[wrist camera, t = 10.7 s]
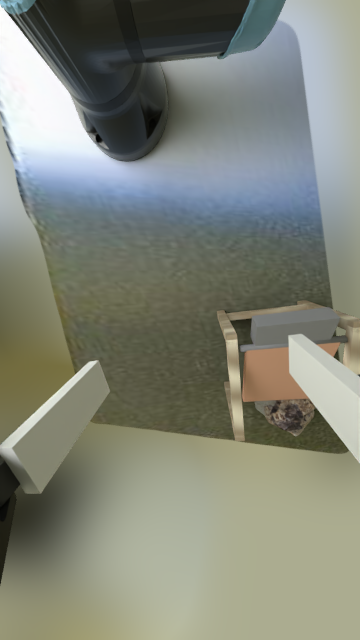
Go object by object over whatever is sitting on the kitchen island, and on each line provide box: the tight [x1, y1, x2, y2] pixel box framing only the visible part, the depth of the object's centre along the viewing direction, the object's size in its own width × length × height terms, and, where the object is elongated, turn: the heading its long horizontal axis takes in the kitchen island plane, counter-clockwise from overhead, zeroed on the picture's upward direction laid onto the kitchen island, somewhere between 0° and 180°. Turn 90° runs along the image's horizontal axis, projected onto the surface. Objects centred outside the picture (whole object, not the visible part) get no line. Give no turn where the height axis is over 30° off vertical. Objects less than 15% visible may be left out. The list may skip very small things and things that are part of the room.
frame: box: [217, 300, 360, 441], centre depth 35 cm, size 20×18×15 cm
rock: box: [255, 398, 315, 436], centre depth 40 cm, size 9×12×10 cm
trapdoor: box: [240, 307, 348, 402], centre depth 30 cm, size 19×14×3 cm
